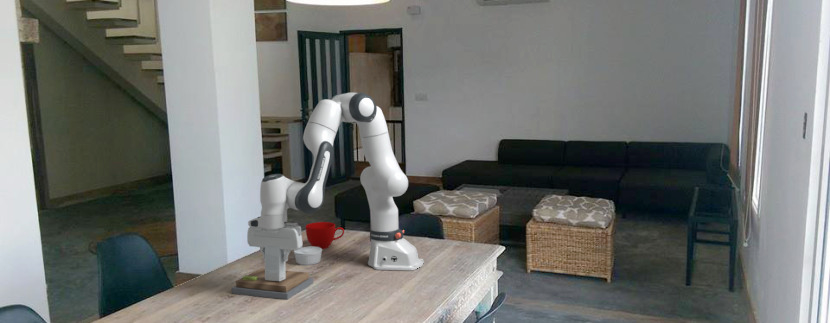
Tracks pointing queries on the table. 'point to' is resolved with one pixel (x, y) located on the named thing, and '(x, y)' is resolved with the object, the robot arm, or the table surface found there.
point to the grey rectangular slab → (273, 293)
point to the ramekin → (308, 255)
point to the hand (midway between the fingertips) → (275, 260)
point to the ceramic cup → (321, 234)
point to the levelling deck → (259, 282)
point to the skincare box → (274, 264)
